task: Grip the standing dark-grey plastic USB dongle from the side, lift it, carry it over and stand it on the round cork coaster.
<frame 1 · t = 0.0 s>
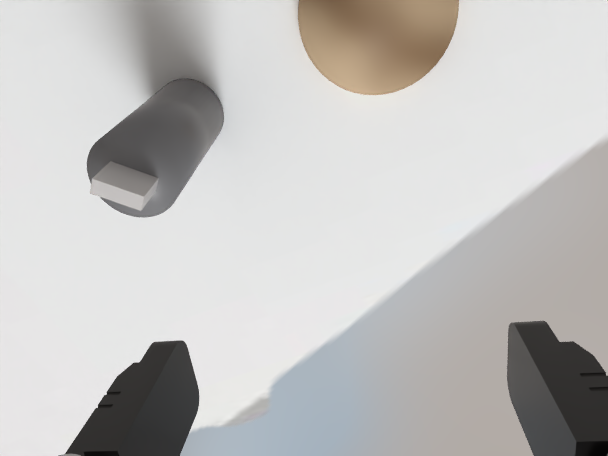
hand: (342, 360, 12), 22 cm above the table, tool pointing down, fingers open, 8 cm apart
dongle: (189, 113, 32), on the table
coaster: (376, 13, 28), on the table
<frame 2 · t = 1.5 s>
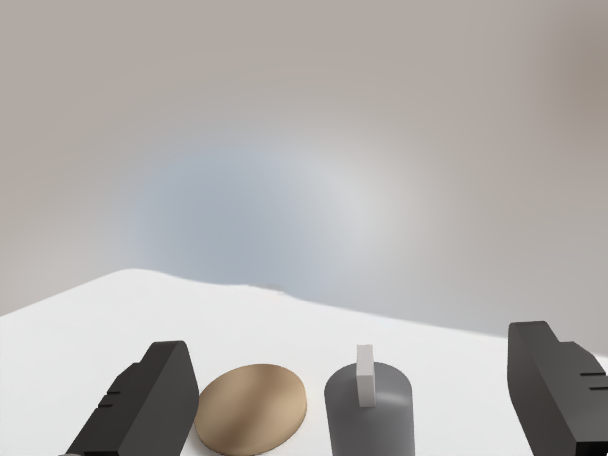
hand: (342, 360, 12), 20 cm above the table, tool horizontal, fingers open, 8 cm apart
coaster: (251, 410, 39), on the table
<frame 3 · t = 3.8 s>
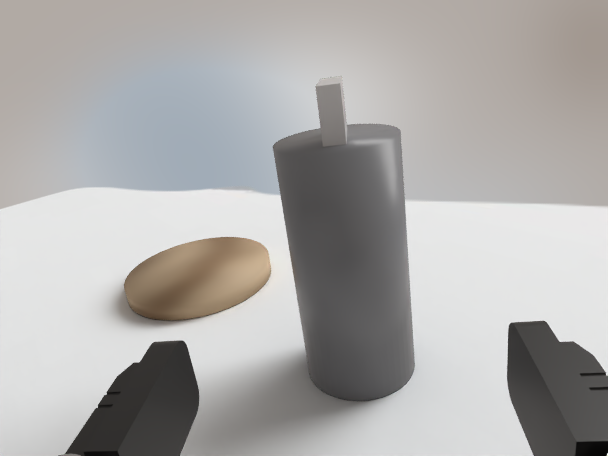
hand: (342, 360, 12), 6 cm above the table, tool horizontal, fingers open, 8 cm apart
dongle: (360, 363, 21), on the table
coaster: (201, 280, 31), on the table
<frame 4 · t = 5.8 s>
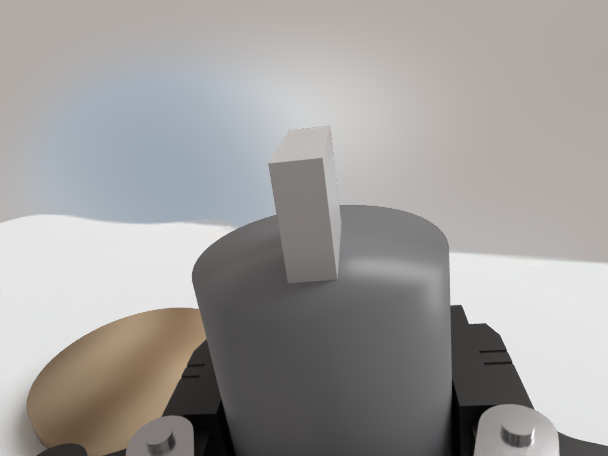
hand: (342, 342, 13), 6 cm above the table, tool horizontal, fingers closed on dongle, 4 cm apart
coaster: (142, 379, 22), on the table
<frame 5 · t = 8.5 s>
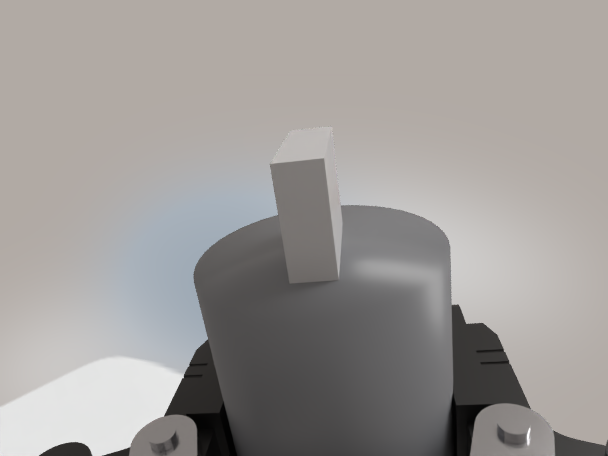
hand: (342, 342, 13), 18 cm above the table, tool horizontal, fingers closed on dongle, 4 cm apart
when the fingers open (8 cm above the table, at t = 10.9 s): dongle stays where it is, resting on coaster.
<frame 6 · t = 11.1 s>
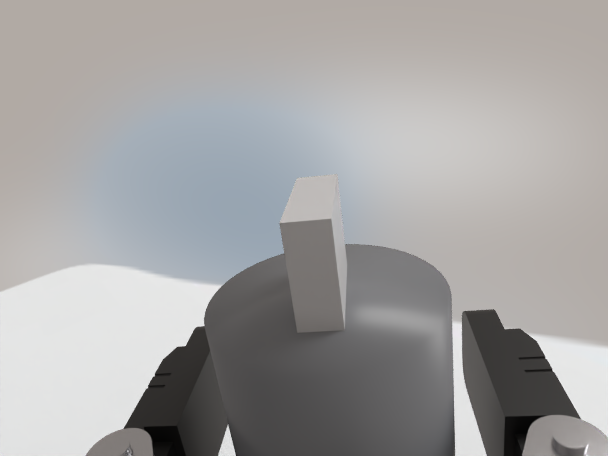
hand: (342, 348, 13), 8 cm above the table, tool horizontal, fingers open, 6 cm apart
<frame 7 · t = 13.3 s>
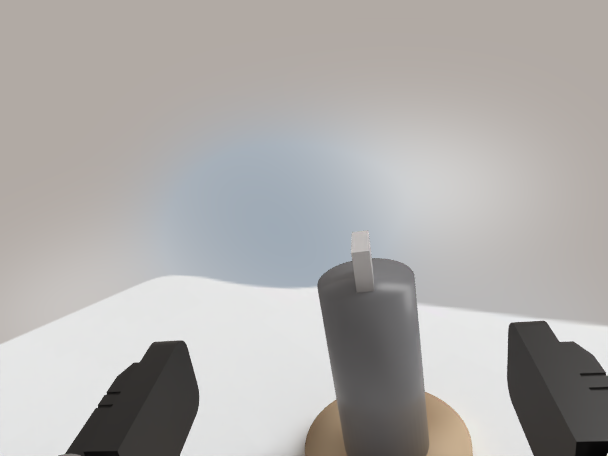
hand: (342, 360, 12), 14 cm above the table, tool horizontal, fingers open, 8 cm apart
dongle: (386, 440, 27), point 1 cm above the table, touching coaster
coaster: (387, 454, 27), on the table
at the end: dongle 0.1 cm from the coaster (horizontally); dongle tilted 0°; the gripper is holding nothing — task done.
